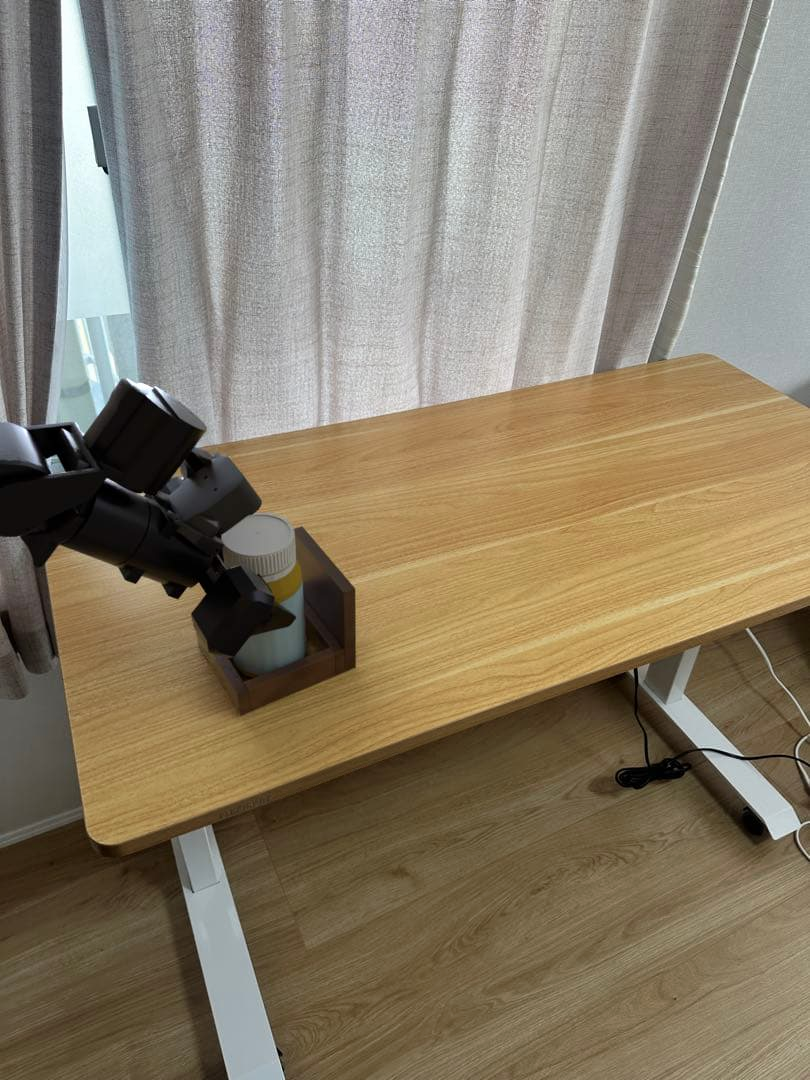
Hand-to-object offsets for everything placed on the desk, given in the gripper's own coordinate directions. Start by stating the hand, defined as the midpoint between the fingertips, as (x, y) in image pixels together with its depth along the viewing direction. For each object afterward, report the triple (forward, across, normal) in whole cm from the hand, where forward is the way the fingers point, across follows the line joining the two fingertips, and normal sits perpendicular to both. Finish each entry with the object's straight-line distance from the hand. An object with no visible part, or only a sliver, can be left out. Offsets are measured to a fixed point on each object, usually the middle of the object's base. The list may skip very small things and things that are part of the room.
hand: (270, 590), depth 73 cm
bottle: (+6, 0, +6) cm, 9 cm away
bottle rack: (+5, 0, +6) cm, 8 cm away
